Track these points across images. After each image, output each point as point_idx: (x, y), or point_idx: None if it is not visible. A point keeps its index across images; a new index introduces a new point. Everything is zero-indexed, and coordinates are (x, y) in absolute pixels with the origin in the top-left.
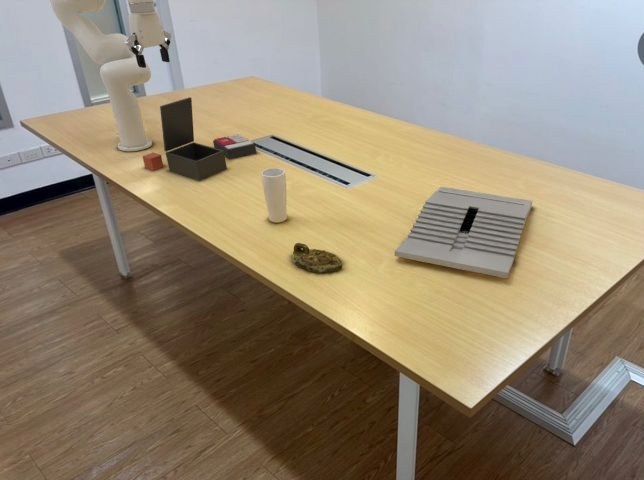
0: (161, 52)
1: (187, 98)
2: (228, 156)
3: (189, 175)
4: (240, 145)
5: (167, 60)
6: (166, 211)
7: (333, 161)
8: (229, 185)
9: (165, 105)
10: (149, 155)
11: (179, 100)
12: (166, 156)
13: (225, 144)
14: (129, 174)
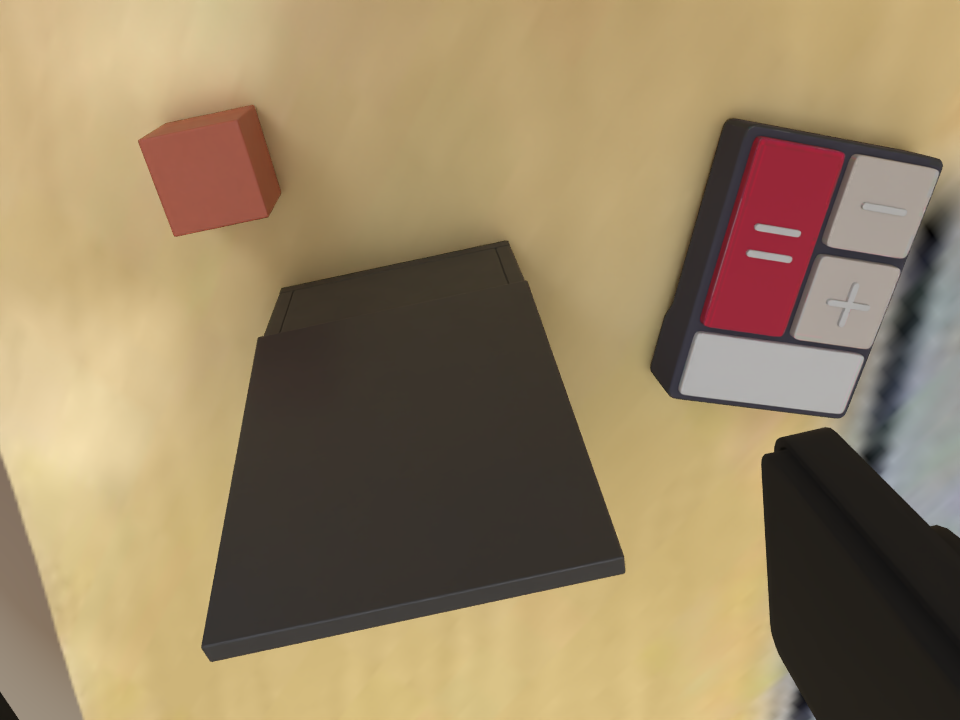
0: (913, 705)
1: (578, 576)
2: (654, 371)
3: None
4: (762, 400)
5: (789, 670)
6: (80, 684)
7: None
8: (436, 630)
9: (264, 649)
10: (189, 168)
11: (468, 595)
12: (266, 329)
13: (717, 321)
14: (31, 155)
